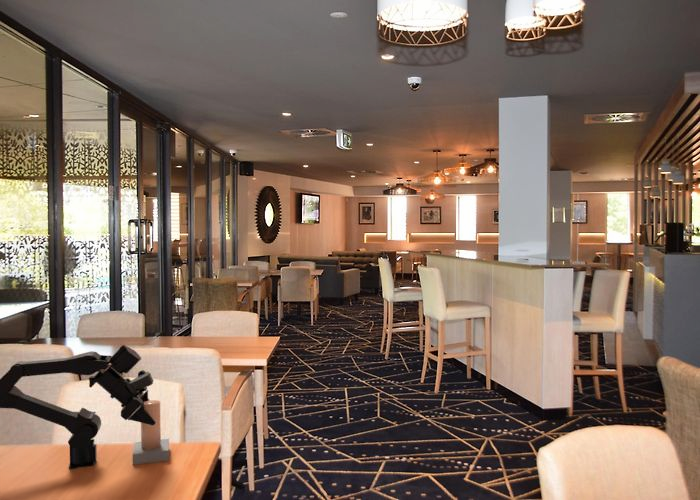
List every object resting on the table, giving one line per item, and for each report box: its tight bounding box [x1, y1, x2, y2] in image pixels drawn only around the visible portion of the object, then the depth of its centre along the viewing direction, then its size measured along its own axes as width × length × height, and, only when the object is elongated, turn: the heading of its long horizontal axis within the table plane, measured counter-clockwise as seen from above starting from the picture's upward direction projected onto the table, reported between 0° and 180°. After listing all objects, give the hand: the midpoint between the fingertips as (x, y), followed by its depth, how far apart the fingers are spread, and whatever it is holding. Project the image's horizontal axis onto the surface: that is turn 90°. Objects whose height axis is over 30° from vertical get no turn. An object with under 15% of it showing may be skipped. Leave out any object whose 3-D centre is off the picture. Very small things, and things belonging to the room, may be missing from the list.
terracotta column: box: [140, 399, 162, 450], centre depth 174 cm, size 6×6×13 cm
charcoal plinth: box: [132, 438, 170, 465], centre depth 175 cm, size 10×10×3 cm
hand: (155, 419), depth 175 cm, fingers open, 9 cm apart
